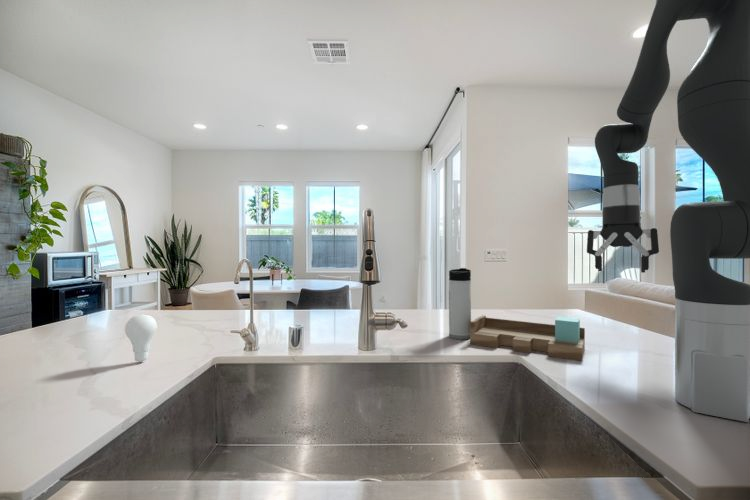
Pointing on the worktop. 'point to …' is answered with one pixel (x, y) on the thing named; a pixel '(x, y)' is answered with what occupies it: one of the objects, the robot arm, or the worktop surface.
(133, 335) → the lightbulb
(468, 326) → the travel mug
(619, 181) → the robot arm
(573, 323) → the teal block
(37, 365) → the worktop surface
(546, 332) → the walnut tray
